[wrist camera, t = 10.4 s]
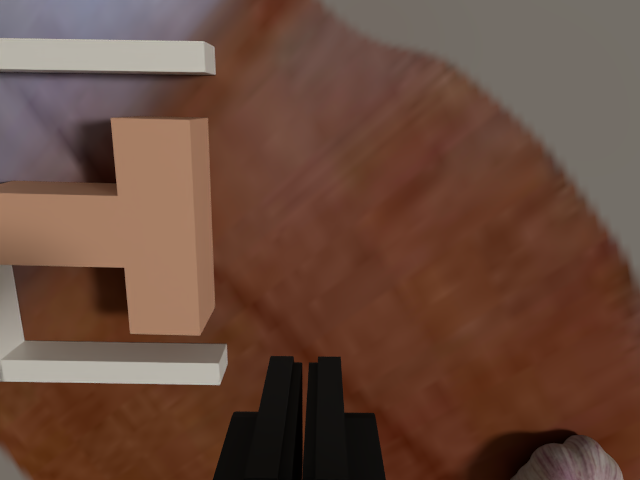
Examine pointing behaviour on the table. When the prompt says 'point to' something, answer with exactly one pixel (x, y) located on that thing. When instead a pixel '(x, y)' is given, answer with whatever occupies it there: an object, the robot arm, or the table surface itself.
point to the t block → (129, 223)
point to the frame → (3, 310)
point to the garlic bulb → (570, 462)
